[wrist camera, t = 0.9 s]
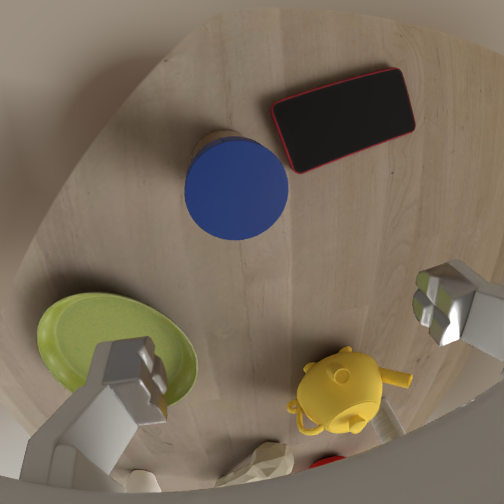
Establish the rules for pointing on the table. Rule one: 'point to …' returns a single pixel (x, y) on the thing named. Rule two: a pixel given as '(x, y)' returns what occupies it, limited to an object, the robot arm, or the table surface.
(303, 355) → the table surface
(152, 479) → the mug
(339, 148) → the smartphone
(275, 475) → the faceted club
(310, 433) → the teapot
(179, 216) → the table surface
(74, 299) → the saucer
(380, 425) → the container
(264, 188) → the jar lid
